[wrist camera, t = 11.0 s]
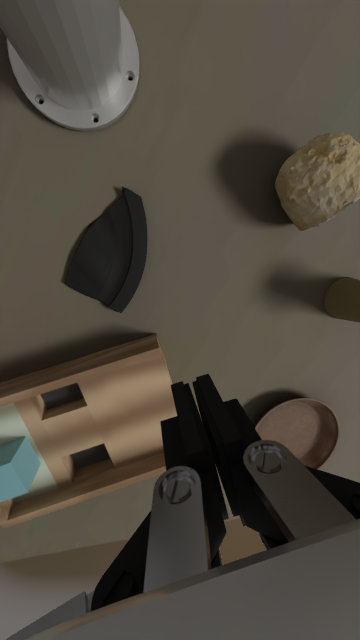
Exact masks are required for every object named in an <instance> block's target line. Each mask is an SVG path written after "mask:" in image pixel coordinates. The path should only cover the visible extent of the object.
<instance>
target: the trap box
mask: <svg viewBox="0 0 360 640" xmlns="http://www.w3.org/2000/svg"><path fill="white" fill-rule="evenodd" d="M172 384H173V383H172V380H171V377H170V374H169V371H168V368H167V365H166V362H165V359H164V356H163V353H162V350H161V346H160V343H159V340H158V337H157V334H153V335H149V336H146V337H143V338H140V339H137V340H134V341H130V342H127V343H124V344H121V345H118V346H115V347H111V348H108V349H105V350H102V351H99V352H96V353H93V354H89V355H86V356H83V357H80V358H77V359H74V360H70V361H67V362H64V363H61V364H58V365H55V366H51V367H48V368H45V369H42V370H39V371H36V372H32V373H29V374H26V375H23V376H20V377H17V378H13V379H10V380H7V381H4V382H1V383H0V445H2V444H5V443H8V442H11V441H14V440H17V439H20V438H23V437H27V439H28V441H29V443H30V445H31V446H32V448H33V450H34V452H35V454H36V455H37V457H38V459H39V461H40V463H41V465H40V467H39V469H38V471H37V474H36V476H35V478H34V480H33V482H32V485H31V487H30V489H29V491H28V493H25V494H22V495H20V496H17V497H14V498H11V499H8V500H5V501H3V502H0V525H1V527H2V528H3V529H4V528H7V527H10V526H13V525H16V524H19V523H22V522H24V521H27V520H30V519H33V518H36V517H39V516H42V515H45V514H48V513H50V512H53V511H56V510H59V509H62V508H65V507H68V506H71V505H74V504H76V503H79V502H82V501H85V500H88V499H91V498H94V497H97V496H100V495H102V494H105V493H108V492H111V491H114V490H117V489H120V488H123V487H126V486H129V485H131V484H134V483H137V482H140V481H143V480H146V479H149V478H152V477H155V476H157V475H160V474H163V473H164V472H165V471H166V465H165V457H164V449H163V441H162V433H161V425H160V421H162V420H166V419H169V418H172V417H176V416H177V412H176V408H175V403H174V399H173V394H172V390H171V385H172Z"/></svg>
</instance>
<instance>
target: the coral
mask: <svg viewBox="0 0 360 640" xmlns="http://www.w3.org/2000/svg"><path fill="white" fill-rule="evenodd" d="M275 188H276V191H277V194H278V196H279V199H280V201H281V206H282V208H283V209H284V210H285V212H286V214H287V215H288V216H289V218H290V219H291V220H292V221H293V223H294V224H295V226H296V227H297V228H298V229H299V230H300V231H301V230H302V231H303V230H306V229H308V228H311V227H316V226H319V223H322V222H326V221H329V220H331V219H332V218H333V217H335V216H336V215H338V214H339V213H340V212H341V211H343V210H344V209H345V208H346V207H347V206H349V205H350V204H353V203H355V202H356V201H357V200H359V199H360V144H359V143H358V142H357V141H355V140H354V139H353V138H352V137H351V136H350V135H348V134H344V133H342V132H335V133H327V134H324V135H320V136H317V137H315V138H314V139H312V140H311V141H309V142H308V144H307V145H305V146H304V147H301V148H299V149H298V150H297V152H296V153H294V154H293V155H291V156H290V157H289V158H288V159H287V160H286V161H285V162H284V164H283V165H282V167H281V168H280V171H279V174H278V176H277V179H276V182H275Z"/></svg>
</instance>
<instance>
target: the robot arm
mask: <svg viewBox="0 0 360 640" xmlns="http://www.w3.org/2000/svg"><path fill="white" fill-rule="evenodd" d="M0 28H1V29H2V31H3V32H4V34H5V35H6V37H7V48H8V56H9V60H10V63H11V67H12V70H13V73H14V75H15V77H16V79H17V82H18V84H19V86H20V87H21V89H22V90H23V92H24V93H25V95H26V96H27V98H28V99H29V100H30V102H31V103H32V104H33V105H34V106H35V108H37V109H38V110H39V111H40V112H41V113H42V114H43V115H44V116H45V117H47V118H48V119H50V120H51V121H53V122H54V123H56V124H58V125H60V126H63V127H65V128H67V129H71V130H76V131H95V130H99V129H103V128H105V127H107V126H109V125H111V124H113V123H114V122H115V121H117V120H118V119H119V118H121V116H122V115H123V114H124V113H125V112H126V111H127V109H128V108H129V106H130V104H131V102H132V101H133V99H134V96H135V93H136V90H137V86H138V79H139V54H138V47H137V43H136V39H135V35H134V32H133V30H132V28H131V25H130V23H129V21H128V19H127V17H126V16H125V14H124V12H123V11H122V9H121V8H120V6H119V0H0ZM129 78H131V79H133V80H132V81H129V80H128V79H129ZM41 101H44V103H43V104H40V102H41ZM95 119H98V122H97V123H95V122H94V120H95ZM196 380H197V381H194V382H192V383H193V387H194V391H195V395H196V399H197V403H198V407H199V411H200V415H201V418H200V415H199V412H198V409H197V406H196V403H195V400H194V398H193V395H192V392H191V389H190V386H189V383H187V384H183V381H182V382H179V383H175V384H172V385H171V390H172V394H173V399H174V403H175V408H176V412H177V416H176V417H172V418H169V419H166V420H162V421H160V425H161V433H162V441H163V449H164V457H165V465H166V471H165V472H164V473H163V474H162V475H161V476H160V477H159V478H158V480H157V481H156V483H155V486H154V490H153V500H152V510H151V511H150V513H149V514H148V515H147V517H146V518H145V519H144V521H143V522H142V523H141V525H140V526H139V528H138V529H137V530H136V532H135V533H134V534H133V536H132V537H131V538H130V540H129V541H128V542H127V544H126V545H125V547H124V548H123V549H122V550H121V552H120V553H119V555H118V556H117V557H116V559H115V560H114V561H113V563H112V564H111V565H110V567H109V568H108V570H107V571H106V572H105V573H104V575H103V576H102V578H101V579H100V581H99V583H98V584H97V586H96V588H95V590H94V591H92V592H91V593H89V594H88V595H86V593H85V592H82V593H81V594H79V595H77V596H75V597H74V598H72V599H70V600H69V601H67V602H66V603H64V604H62V605H61V606H59V607H57V608H56V609H54V610H53V611H51V612H49V613H48V614H46V615H44V616H43V617H41V618H39V619H38V620H36V621H35V622H33V623H31V624H30V625H28V626H26V627H25V628H23V629H21V630H20V631H18V632H17V633H15V634H13V635H12V636H10V637H9V638H8V639H6V640H360V483H358V482H355V481H352V480H349V479H346V478H342V477H339V476H336V475H333V474H330V473H327V472H324V471H321V470H317V469H314V468H311V467H308V466H305V465H303V464H302V463H301V462H300V461H299V460H298V459H297V458H296V457H295V456H294V455H293V453H292V452H291V451H290V450H289V449H288V448H287V447H285V446H284V445H283V444H281V443H279V442H276V441H272V440H262V439H261V437H260V436H259V434H258V432H257V431H256V429H255V428H254V426H253V424H252V423H251V421H250V419H249V418H248V416H247V415H246V413H245V411H244V410H243V408H242V406H241V405H240V403H239V402H238V400H237V399H232V400H229V401H226V402H223V401H222V399H221V397H220V395H219V393H218V391H217V389H216V387H215V385H214V383H213V381H212V379H211V377H210V376H209V374H206V375H203V376H199V377H196ZM201 419H202V420H201ZM215 464H216V465H215ZM216 467H217V469H216ZM217 470H218V473H219V476H220V479H221V482H222V485H223V488H224V490H225V493H226V496H227V499H228V502H229V505H230V508H231V511H232V514H233V516H234V517H235V516H238V515H240V518H241V521H242V523H243V526H245V525H246V526H247V527H249V528H252V529H253V530H255V531H257V532H258V533H259V536H260V539H261V541H262V543H263V545H264V546H265V548H266V551H263V552H260V553H257V554H254V555H251V556H248V557H245V558H243V559H239V560H236V561H234V562H231V563H228V564H225V565H222V558H221V553H220V549H219V547H220V545H221V543H222V541H223V538H224V536H225V534H226V528H225V524H224V520H225V519H229V517H228V513H227V509H226V505H225V501H224V497H223V493H222V489H221V485H220V481H219V477H218V473H217Z"/></svg>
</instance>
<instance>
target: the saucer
mask: <svg viewBox="0 0 360 640" xmlns="http://www.w3.org/2000/svg"><path fill="white" fill-rule="evenodd" d="M254 428H255V429H256V431H257V432H258V434H259V436H260V437H261V439H262V440H272V441H276V442H279V443H281V444H283V445H284V446H285V447H287V448H288V449H289V450H290V451H291V452H292V453H293V455H294V456H295V457H296V458H297V459H298V460H299V461H300V462H301V463H302V464H303V465H305V466H308V467H311V468H314V469H317V470H318V469H319V468H321V467H322V466H323V465H324V464H325V463H326V462H327V461H328V459H329V458H330V457H331V455H332V454H333V452H334V450H335V448H336V446H337V443H338V439H339V433H340V427H339V422H338V419H337V416H336V414H335V413H334V411H333V410H332V409H331V408H330V407H329V406H328V405H326V404H325V403H323V402H321V401H319V400H315V399H311V398H296V399H290V400H287V401H284V402H281V403H279V404H277V405H275V406H274V407H272V408H271V409H269V410H268V411H267V412H266V413H265V414H264V415H263V416H262V417H261V418H260V419H259V421H258V422H257V424H256V425H255V427H254Z"/></svg>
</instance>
